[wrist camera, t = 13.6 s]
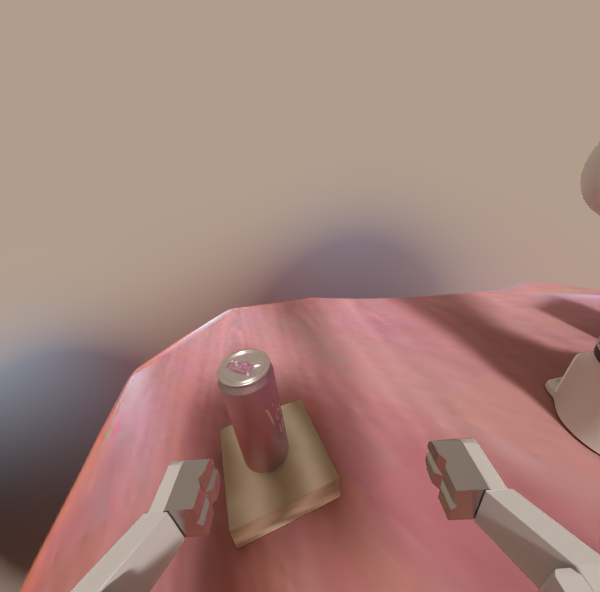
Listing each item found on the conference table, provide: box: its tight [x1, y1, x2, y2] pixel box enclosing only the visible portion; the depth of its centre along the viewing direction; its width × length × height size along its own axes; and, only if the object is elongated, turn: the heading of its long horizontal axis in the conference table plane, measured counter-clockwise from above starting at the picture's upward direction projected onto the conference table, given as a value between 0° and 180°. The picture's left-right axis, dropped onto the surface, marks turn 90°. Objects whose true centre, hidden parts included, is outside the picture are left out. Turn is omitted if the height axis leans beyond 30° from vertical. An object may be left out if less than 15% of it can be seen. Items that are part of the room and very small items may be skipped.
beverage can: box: [218, 349, 289, 473], centre depth 31 cm, size 6×6×15 cm
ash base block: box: [219, 399, 341, 549], centre depth 35 cm, size 13×13×4 cm
